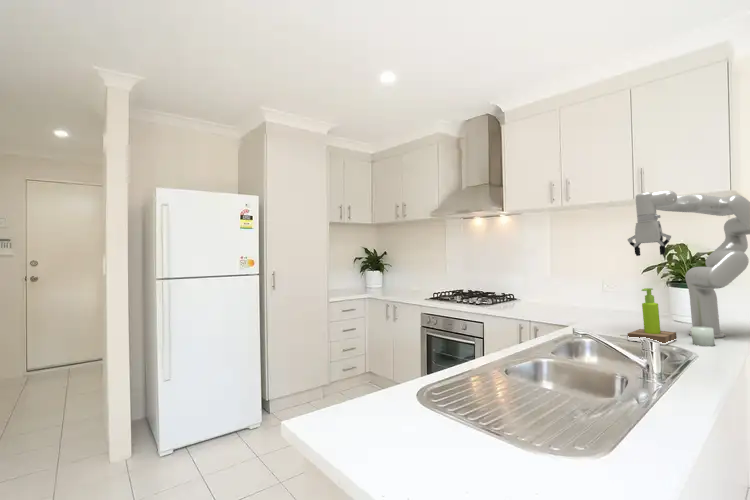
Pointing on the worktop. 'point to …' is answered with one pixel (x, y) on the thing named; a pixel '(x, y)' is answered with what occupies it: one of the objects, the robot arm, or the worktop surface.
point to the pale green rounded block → (703, 336)
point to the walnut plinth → (654, 335)
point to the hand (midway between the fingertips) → (650, 255)
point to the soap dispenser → (650, 314)
